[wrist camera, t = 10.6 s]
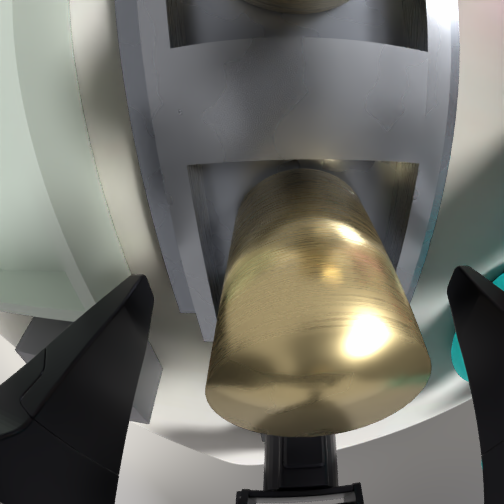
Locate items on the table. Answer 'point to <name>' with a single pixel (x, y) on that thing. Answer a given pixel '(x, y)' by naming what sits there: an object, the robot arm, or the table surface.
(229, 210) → the grey flat frame
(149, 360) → the grey square socket block
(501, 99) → the table surface
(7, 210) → the tray
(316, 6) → the cylinder
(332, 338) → the billet
